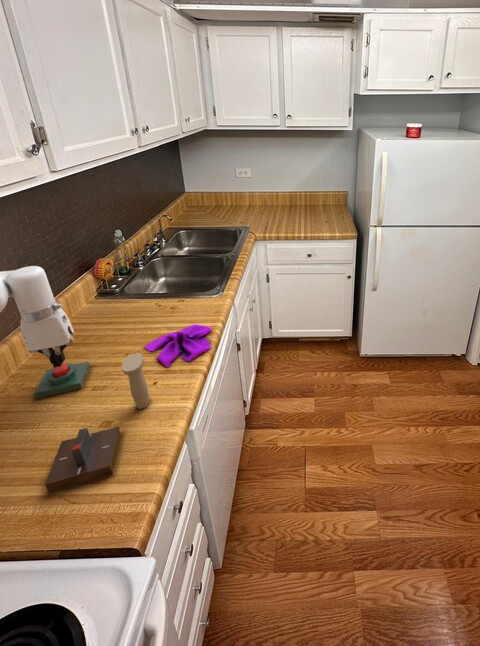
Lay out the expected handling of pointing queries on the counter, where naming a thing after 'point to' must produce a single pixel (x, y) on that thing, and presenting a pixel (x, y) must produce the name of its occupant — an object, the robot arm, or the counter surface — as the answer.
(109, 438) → the panel
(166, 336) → the cloth
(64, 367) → the button
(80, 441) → the knob
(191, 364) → the counter surface
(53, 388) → the button box
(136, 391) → the handle
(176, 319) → the counter surface
